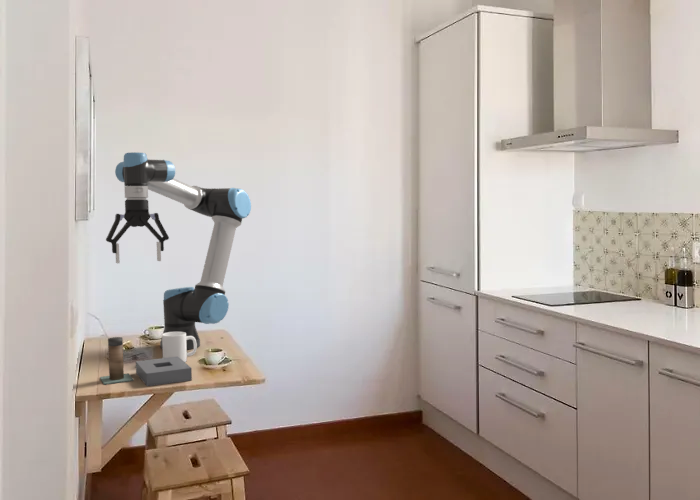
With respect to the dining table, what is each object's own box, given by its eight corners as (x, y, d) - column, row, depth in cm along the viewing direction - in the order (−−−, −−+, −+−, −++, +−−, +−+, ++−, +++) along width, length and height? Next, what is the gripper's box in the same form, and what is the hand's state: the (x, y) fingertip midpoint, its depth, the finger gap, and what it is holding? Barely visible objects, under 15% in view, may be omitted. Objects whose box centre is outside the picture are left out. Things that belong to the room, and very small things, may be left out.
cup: (161, 360, 245) (160, 332, 245) (195, 357, 250) (194, 329, 249) (164, 365, 238) (163, 337, 237) (199, 362, 242) (198, 334, 242)
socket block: (136, 373, 228) (135, 361, 228) (178, 367, 235) (177, 356, 234) (147, 386, 212) (146, 373, 212) (191, 380, 219) (191, 367, 218)
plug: (108, 377, 221) (107, 338, 220) (122, 375, 223) (121, 336, 222) (110, 380, 217) (109, 340, 216) (125, 378, 219) (123, 339, 218)
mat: (100, 378, 222) (99, 376, 222) (128, 374, 227) (128, 373, 226) (104, 384, 214) (104, 383, 214) (133, 380, 219) (133, 379, 219)
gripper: (98, 199, 220) (101, 264, 222) (176, 198, 232) (178, 260, 233) (95, 199, 227) (98, 263, 228) (171, 198, 238) (173, 259, 240)
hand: (138, 262), depth 231 cm, fingers open, 13 cm apart
